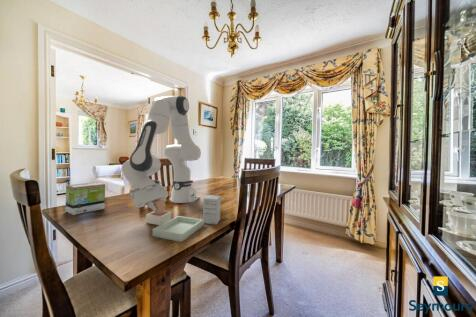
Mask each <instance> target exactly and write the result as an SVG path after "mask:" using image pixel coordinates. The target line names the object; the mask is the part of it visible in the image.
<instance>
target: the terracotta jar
mask: <svg viewBox="0 0 476 317" xmlns="http://www.w3.org/2000/svg"><path fill="white" fill-rule="evenodd" d="M164 204H165V199H164V200H156V201H155V202H154V203H153V205H154V206H157V208H158V209H157V210H156V211H154V215H157V216H161V215H163V214H164V211H165V207H164Z"/></svg>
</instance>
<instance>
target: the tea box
mask: <svg viewBox="0 0 476 317" xmlns="http://www.w3.org/2000/svg"><path fill="white" fill-rule="evenodd" d="M105 201H106V184H105V183H101V182H87V183H86V182H85V183H75V184H74V183H73V184H66V185H65V210H64V211H65V212H66V213H67V212H68V213H67V214H70V215H72V216H76V215H80V214H85V213H91V212H94V211H100V210H104V209H105V207H106V205H105V203H106V202H105Z"/></svg>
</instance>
